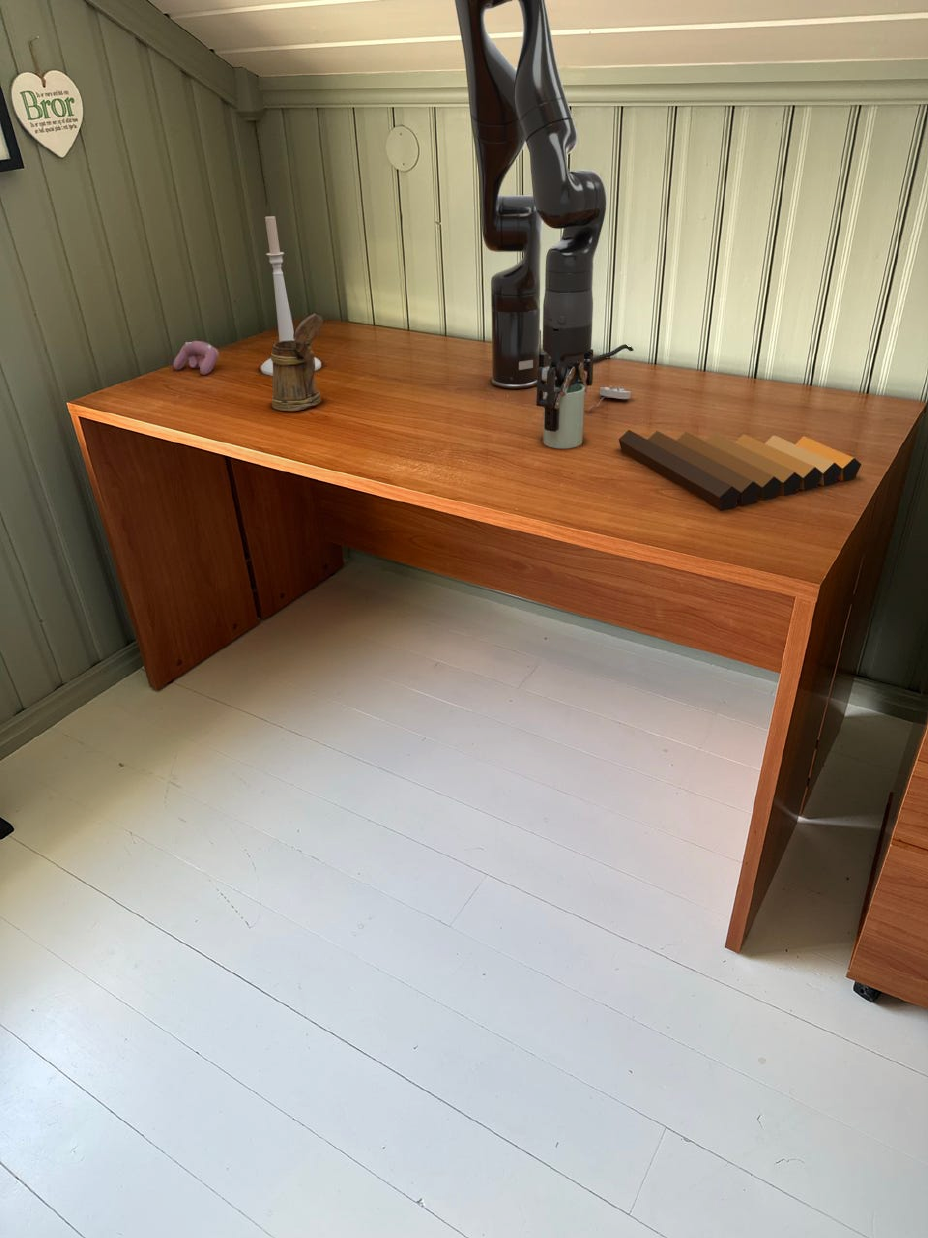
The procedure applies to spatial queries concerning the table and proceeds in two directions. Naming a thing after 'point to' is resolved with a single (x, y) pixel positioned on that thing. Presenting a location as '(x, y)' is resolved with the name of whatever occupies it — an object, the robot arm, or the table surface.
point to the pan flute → (740, 465)
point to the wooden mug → (296, 368)
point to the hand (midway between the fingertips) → (564, 422)
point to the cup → (568, 420)
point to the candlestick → (279, 293)
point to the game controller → (614, 393)
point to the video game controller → (197, 356)
